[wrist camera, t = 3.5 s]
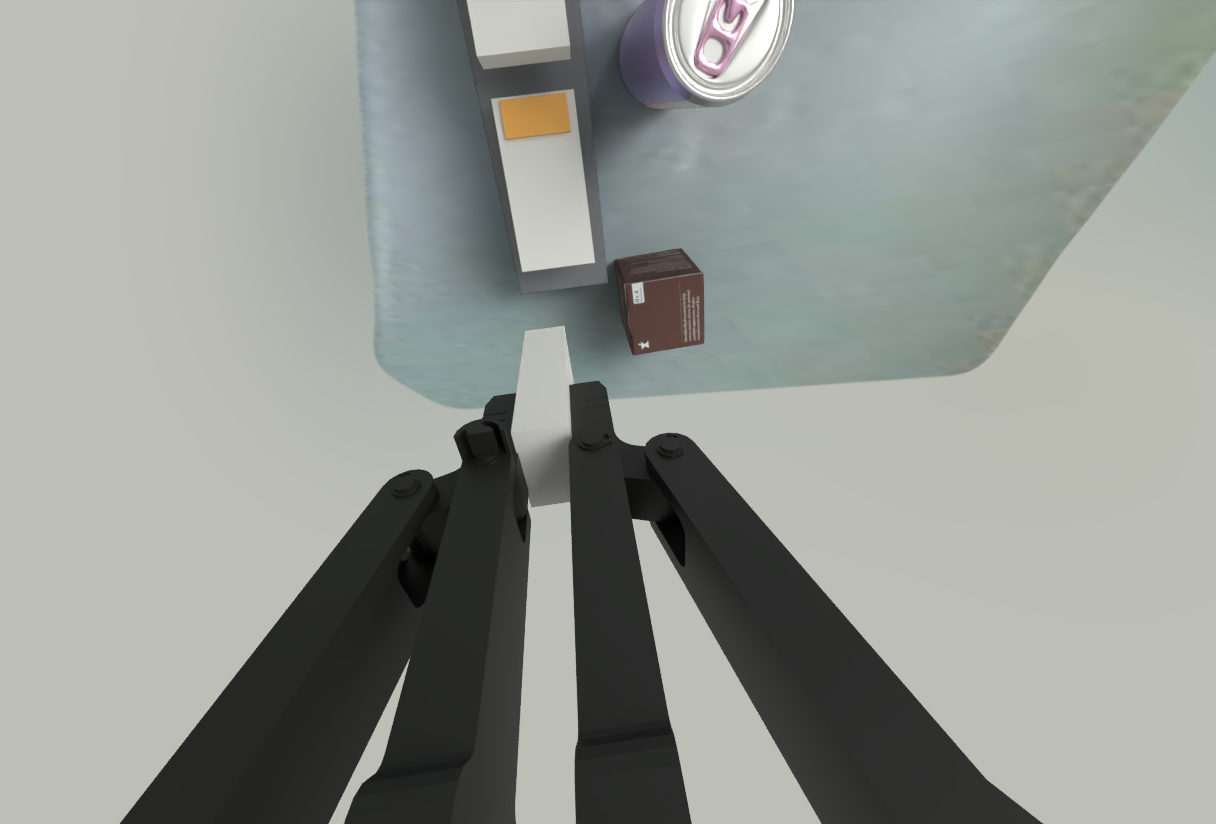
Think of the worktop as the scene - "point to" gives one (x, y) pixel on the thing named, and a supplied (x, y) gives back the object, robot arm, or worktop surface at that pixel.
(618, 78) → the worktop surface
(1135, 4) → the worktop surface
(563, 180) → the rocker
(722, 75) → the beverage can
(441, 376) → the worktop surface
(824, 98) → the worktop surface
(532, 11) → the block
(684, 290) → the box
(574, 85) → the switch panel
